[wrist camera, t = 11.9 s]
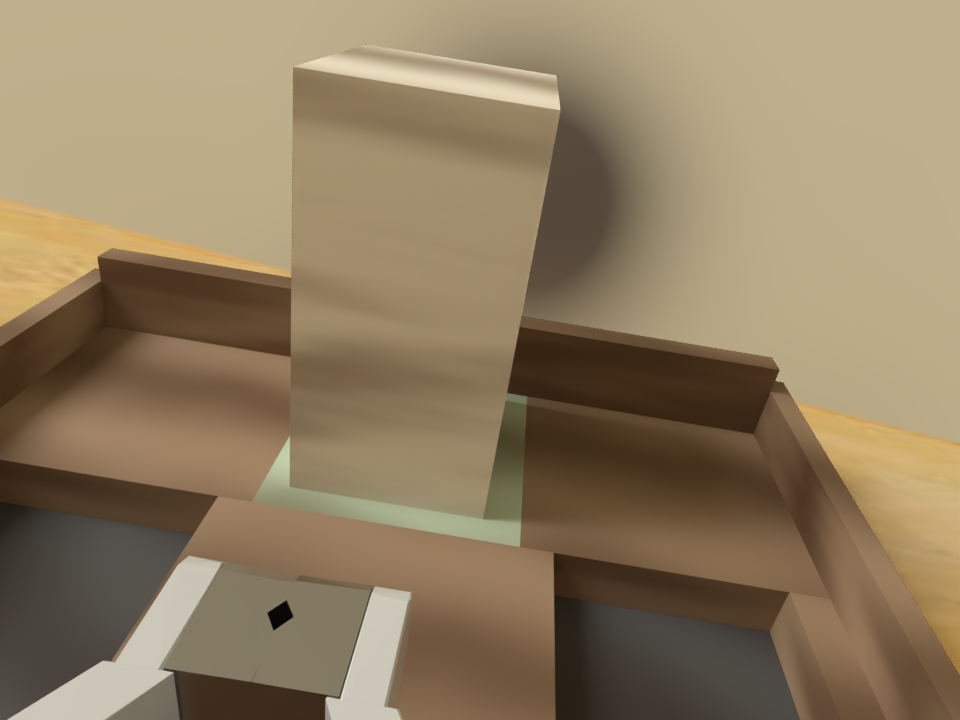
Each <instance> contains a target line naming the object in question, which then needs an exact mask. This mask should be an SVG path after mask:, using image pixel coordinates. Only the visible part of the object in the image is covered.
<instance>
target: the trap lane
mask: <svg viewBox="0 0 960 720" xmlns="http://www.w3.org/2000/svg"><path fill="white" fill-rule="evenodd" d="M98 264H99V269H96V268H95V269H94V270H92V271H90V272H89V273H87V274H86V275H84V276H82V277H81V278H79V279H77V280H76V281H74V282H73V283H71V284H69V285H68V286H66V287H64V288H63V289H61V290H60V291H58V292H56V293H55V294H53V295H51V296H50V297H48V298H47V299H45V300H43V301H42V302H40V303H39V304H37V305H35V306H34V307H32V308H30V309H29V310H27V311H26V312H24V313H22V314H21V315H19V316H17V317H16V318H14V319H13V320H11V321H9V322H8V323H6V324H4V325H3V326H1V327H0V720H8V719H9V718H11V717H12V716H14V715H16V714H17V713H19V712H20V711H22V710H24V709H25V708H27V707H29V706H30V705H32V704H33V703H35V702H37V701H38V700H40V699H41V698H43V697H45V696H46V695H48V694H50V693H51V692H53V691H54V690H56V689H58V688H59V687H61V686H63V685H64V684H66V683H67V682H69V681H71V680H72V679H74V678H75V677H77V676H79V675H80V674H82V673H84V672H85V671H87V670H88V669H90V668H92V667H93V666H95V665H96V664H98V663H100V662H101V661H111V662H115V661H116V660H117V658H118V657H119V655H120V654H121V652H122V651H123V649H124V648H125V646H126V644H127V643H128V641H129V640H130V638H131V637H132V635H133V634H134V632H135V631H136V629H137V627H138V626H139V624H140V623H141V621H142V620H143V618H144V617H145V615H146V613H147V612H148V610H149V609H150V607H151V606H152V604H153V603H154V601H155V600H156V598H157V596H158V595H159V593H160V592H161V590H162V589H163V587H164V586H165V584H166V582H167V581H168V579H169V578H170V576H171V575H172V573H173V572H174V570H175V569H176V567H177V565H178V564H180V563H181V562H182V561H183V560H184V559H186V558H187V557H188V556H193V557H199V558H204V559H210V560H215V561H221V562H229V563H234V564H239V565H244V566H250V567H255V568H260V569H266V570H271V571H276V572H281V573H287V574H292V575H297V576H301V575H305V576H311V577H318V578H325V579H332V580H338V581H345V582H352V583H358V584H365V585H372V586H375V587H381V588H388V589H394V590H400V591H406V592H412V593H413V603H412V611H411V619H410V627H409V635H408V643H407V651H406V658H405V664H404V671H403V677H402V684H401V690H400V696H399V700H398V705H397V709H399V710H400V713H401V716H402V718H403V720H960V675H959V674H958V672H957V670H956V669H955V667H954V665H953V664H952V662H951V660H950V659H949V657H948V655H947V654H946V652H945V650H944V649H943V647H942V645H941V644H940V642H939V640H938V639H937V637H936V635H935V634H934V632H933V630H932V629H931V627H930V625H929V624H928V622H927V620H926V619H925V617H924V615H923V614H922V612H921V611H920V609H919V607H918V606H917V604H916V602H915V601H914V599H913V597H912V596H911V594H910V592H909V591H908V589H907V587H906V586H905V584H904V582H903V581H902V579H901V577H900V576H899V574H898V572H897V571H896V569H895V567H894V566H893V564H892V562H891V561H890V559H889V557H888V556H887V554H886V552H885V551H884V549H883V547H882V546H881V544H880V542H879V541H878V539H877V538H876V536H875V534H874V533H873V531H872V529H871V528H870V526H869V524H868V523H867V521H866V519H865V518H864V516H863V514H862V513H861V511H860V509H859V508H858V506H857V504H856V503H855V501H854V499H853V498H852V496H851V494H850V493H849V491H848V489H847V488H846V486H845V484H844V483H843V481H842V479H841V478H840V476H839V474H838V473H837V471H836V469H835V468H834V466H833V465H832V463H831V461H830V460H829V458H828V456H827V455H826V453H825V451H824V450H823V448H822V446H821V445H820V443H819V441H818V440H817V438H816V436H815V435H814V433H813V431H812V430H811V428H810V426H809V425H808V423H807V421H806V420H805V418H804V416H803V415H802V413H801V411H800V410H799V408H798V406H797V405H796V403H795V401H794V400H793V398H792V397H791V395H790V393H789V392H788V390H787V388H786V387H785V385H784V383H782V382H777V381H775V380H776V377H777V375H778V372H779V368H778V367H777V365H776V363H775V362H774V360H773V359H772V358H771V357H765V356H759V355H753V354H747V353H741V352H735V351H728V350H723V349H717V348H711V347H705V346H699V345H693V344H687V343H681V342H675V341H669V340H663V339H657V338H650V337H644V336H639V335H633V334H627V333H620V332H615V331H608V330H603V329H596V328H590V327H584V326H578V325H572V324H566V323H560V322H554V321H547V320H542V319H536V318H530V317H524V316H521V321H520V327H519V332H518V337H517V342H516V348H515V353H514V358H513V364H512V369H511V374H510V379H509V385H508V390H507V395H506V401H505V406H504V411H503V416H502V422H501V427H500V432H499V438H498V443H497V448H496V453H495V459H494V464H493V469H492V475H491V480H490V485H489V490H488V496H487V501H486V506H485V512H484V517H483V519H478V518H472V517H466V516H460V515H454V514H448V513H442V512H436V511H430V510H424V509H418V508H412V507H406V506H400V505H394V504H388V503H383V502H377V501H371V500H365V499H359V498H353V497H347V496H341V495H335V494H329V493H323V492H317V491H311V490H305V489H299V488H293V487H290V378H291V278H289V277H283V276H277V275H271V274H265V273H259V272H253V271H247V270H241V269H235V268H229V267H223V266H216V265H210V264H204V263H198V262H192V261H186V260H180V259H174V258H168V257H162V256H156V255H150V254H144V253H138V252H132V251H126V250H120V249H114V248H112V249H110V250H108V251H106V252H105V253H103V254H101V255H100V256H98Z"/></svg>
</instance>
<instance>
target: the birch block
mask: <svg viewBox="0 0 960 720" xmlns="http://www.w3.org/2000/svg"><path fill="white" fill-rule="evenodd" d="M559 115H560V103H559V94H558V86H557V78H556V76H555V75H549V74H543V73H537V72H531V71H525V70H518V69H513V68H506V67H500V66H494V65H487V64H482V63H476V62H470V61H463V60H457V59H451V58H445V57H439V56H433V55H427V54H421V53H414V52H408V51H402V50H396V49H390V48H384V47H378V46H371V45H363V46H360V47H357V48H353V49H350V50H347V51H344V52H340V53H337V54H333V55H330V56H327V57H323V58H320V59H317V60H314V61H310V62H307V63H304V64H300V65H297V66H294V67H293V149H292V150H293V151H292V154H293V155H292V263H291V264H292V266H291V378H290V487H293V488H299V489H305V490H311V491H317V492H323V493H329V494H335V495H341V496H347V497H353V498H359V499H365V500H371V501H377V502H383V503H388V504H394V505H400V506H406V507H412V508H418V509H424V510H430V511H436V512H442V513H448V514H454V515H460V516H466V517H472V518H478V519H483V517H484V512H485V506H486V501H487V496H488V490H489V485H490V480H491V475H492V469H493V464H494V459H495V453H496V448H497V443H498V438H499V432H500V427H501V422H502V416H503V411H504V406H505V401H506V395H507V390H508V385H509V379H510V374H511V369H512V364H513V358H514V353H515V348H516V342H517V337H518V332H519V327H520V321H521V316H522V310H523V305H524V300H525V295H526V290H527V284H528V279H529V273H530V268H531V263H532V258H533V253H534V247H535V242H536V237H537V231H538V225H539V220H540V216H541V210H542V205H543V200H544V194H545V189H546V184H547V178H548V173H549V168H550V163H551V157H552V152H553V146H554V141H555V136H556V131H557V126H558V120H559Z"/></svg>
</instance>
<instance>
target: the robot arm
mask: <svg viewBox="0 0 960 720" xmlns="http://www.w3.org/2000/svg"><path fill="white" fill-rule="evenodd" d="M412 603H413V593H412V592H406V591H400V590H394V589H388V588H381V587H375V586H372V585H365V584H358V583H352V582H345V581H338V580H332V579H325V578H318V577H311V576H305V575H301V576H297V575H292V574H287V573H281V572H276V571H271V570H266V569H260V568H255V567H250V566H244V565H239V564H234V563H229V562H221V561H215V560H210V559H204V558H199V557H193V556H188V557H187V558H186V559H184V560H183V561H182V562H181V563H180V564H178V565H177V567H176V569H175V570H174V572H173V573H172V575H171V576H170V578H169V579H168V581H167V582H166V584H165V586H164V587H163V589H162V590H161V592H160V593H159V595H158V596H157V598H156V600H155V601H154V603H153V604H152V606H151V607H150V609H149V610H148V612H147V613H146V615H145V617H144V618H143V620H142V621H141V623H140V624H139V626H138V627H137V629H136V631H135V632H134V634H133V635H132V637H131V638H130V640H129V641H128V643H127V644H126V646H125V648H124V649H123V651H122V652H121V654H120V655H119V657H118V658H117V660H116V661H115V662H111V661H101V662H100V663H98V664H96V665H95V666H93V667H92V668H90V669H88V670H87V671H85V672H84V673H82V674H80V675H79V676H77V677H75V678H74V679H72V680H71V681H69V682H67V683H66V684H64V685H63V686H61V687H59V688H58V689H56V690H54V691H53V692H51V693H50V694H48V695H46V696H45V697H43V698H41V699H40V700H38V701H37V702H35V703H33V704H32V705H30V706H29V707H27V708H25V709H24V710H22V711H20V712H19V713H17V714H16V715H14V716H12V717H11V718H9V719H8V720H403V718H402V716H401V713H400V710H399V709H397V705H398V700H399V696H400V690H401V684H402V677H403V671H404V664H405V658H406V651H407V643H408V635H409V627H410V619H411V611H412Z"/></svg>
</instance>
